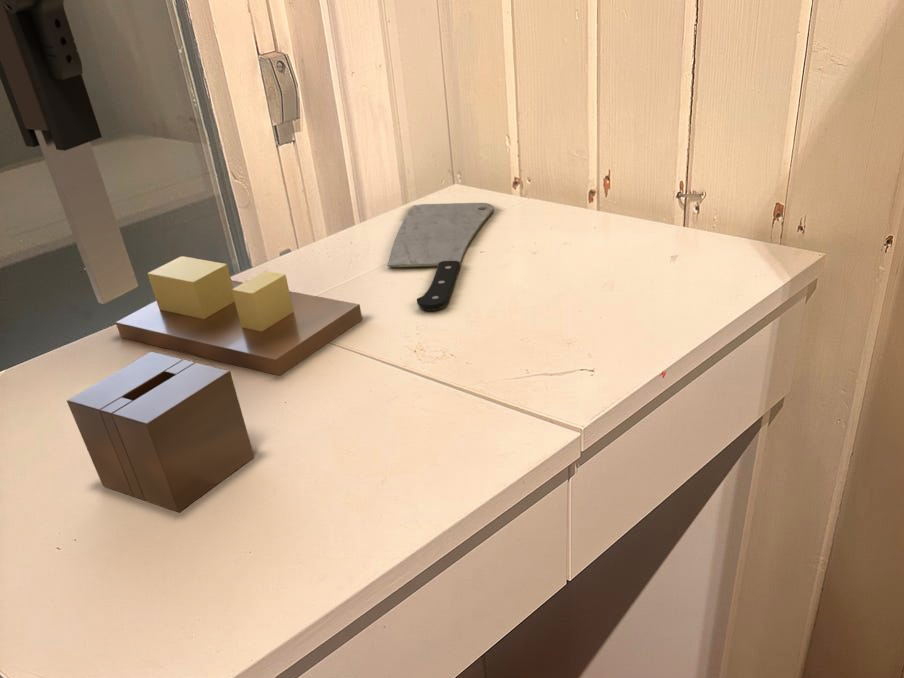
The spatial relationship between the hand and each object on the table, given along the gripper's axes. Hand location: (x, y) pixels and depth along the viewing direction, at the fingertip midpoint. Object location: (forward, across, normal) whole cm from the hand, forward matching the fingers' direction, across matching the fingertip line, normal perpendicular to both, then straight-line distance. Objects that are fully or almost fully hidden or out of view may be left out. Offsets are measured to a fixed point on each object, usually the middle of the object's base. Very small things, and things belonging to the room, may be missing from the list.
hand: (63, 140), depth 53 cm
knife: (+9, 0, 0) cm, 9 cm away
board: (+22, +13, -21) cm, 33 cm away
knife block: (+22, 0, 0) cm, 22 cm away
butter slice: (+21, +9, -21) cm, 31 cm away
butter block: (+21, +18, -21) cm, 35 cm away
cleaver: (+22, +6, -43) cm, 49 cm away
